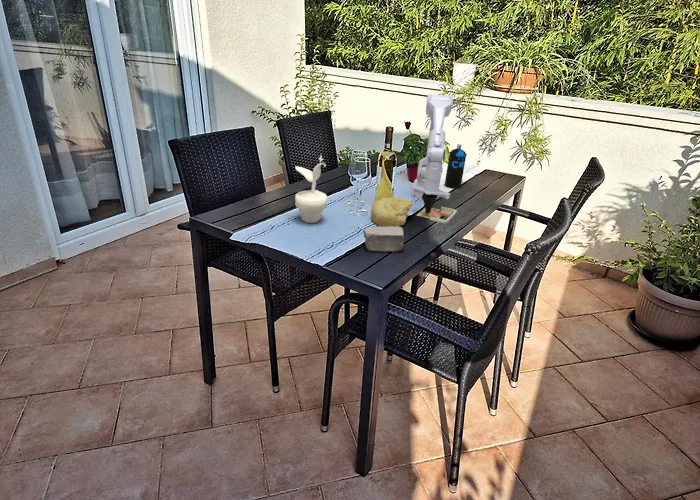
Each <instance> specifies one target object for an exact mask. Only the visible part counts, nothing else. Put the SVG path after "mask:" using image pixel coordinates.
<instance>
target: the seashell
mask: <svg viewBox="0 0 700 500" xmlns="http://www.w3.org/2000/svg"><path fill="white" fill-rule="evenodd" d="M413 206H414V202H413V201H412V200H409V199H408V198H403V197H393V196H391V197H382V198H381V199H380V198H379V199H377V200H376V201H375V202H374V203H373V204H372V207H371V209H370V217H371V219H372V221H373V223H374V224H376V225H377V227H389V226H391V227H401V226H402V227H403V226H404V225H405V223H406V221H407V214H408V213H409V211H410V210H411V208H412V207H413Z"/></svg>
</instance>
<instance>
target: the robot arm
mask: <svg viewBox="0 0 700 500" xmlns="http://www.w3.org/2000/svg"><path fill="white" fill-rule="evenodd" d="M453 102H454V97H453V95H444V94H443V95H441V94H430V93H429V94H427V97H426V105H425V114H426V116H429V118H430V125H429V133H428V139H427V141H428V142H427V149H426V156H425V157H423V158H421V159H420V160H419V161H418V166H417V174H416V175H417V176H416V178H415V180H413V184H412V188H411V197H412V198H417V199H420V200H422V201H423V205H424V208H425V213H428V214H429V213H430V211H431V208H433V206H434V204H435V202H436V200H437V199H438V198H442V199H445V200H449V199H450V197H451V192H447V191H444V190H441V189H440V185H441V178H442V174H443V173H442V171H443V165H444V163H445V161H446V156H447V147H446V131H445V130H443V128H444V122H445V118H447V117H449V116H450V114H451V112H452V108H453V105H454V104H453Z"/></svg>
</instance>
